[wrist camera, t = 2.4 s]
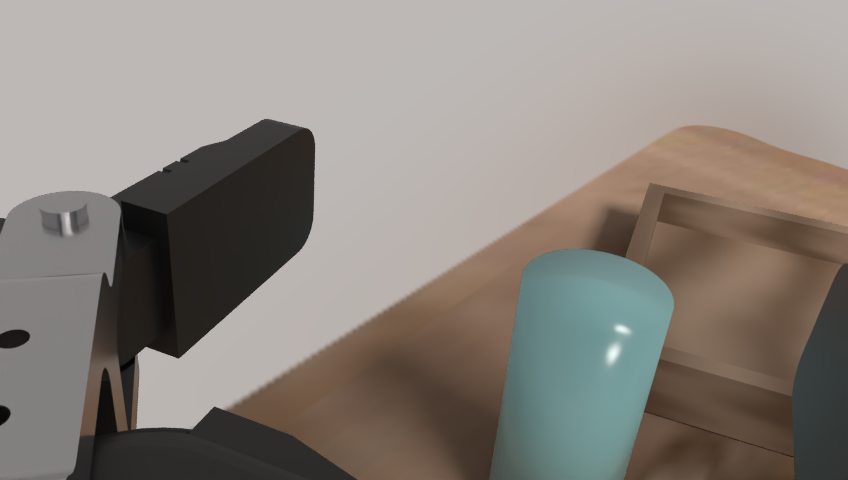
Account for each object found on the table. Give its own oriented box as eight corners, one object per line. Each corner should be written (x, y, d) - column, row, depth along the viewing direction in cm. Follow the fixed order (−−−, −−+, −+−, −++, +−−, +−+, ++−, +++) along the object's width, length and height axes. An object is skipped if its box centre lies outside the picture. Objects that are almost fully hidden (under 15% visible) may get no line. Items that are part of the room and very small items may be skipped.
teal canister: (621, 481, 31) (681, 271, 26) (599, 577, 27) (665, 352, 22) (506, 442, 32) (542, 236, 27) (469, 529, 28) (504, 306, 23)
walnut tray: (950, 298, 45) (973, 254, 43) (1037, 531, 30) (1076, 477, 29) (639, 224, 50) (649, 182, 49) (584, 393, 35) (597, 340, 34)
